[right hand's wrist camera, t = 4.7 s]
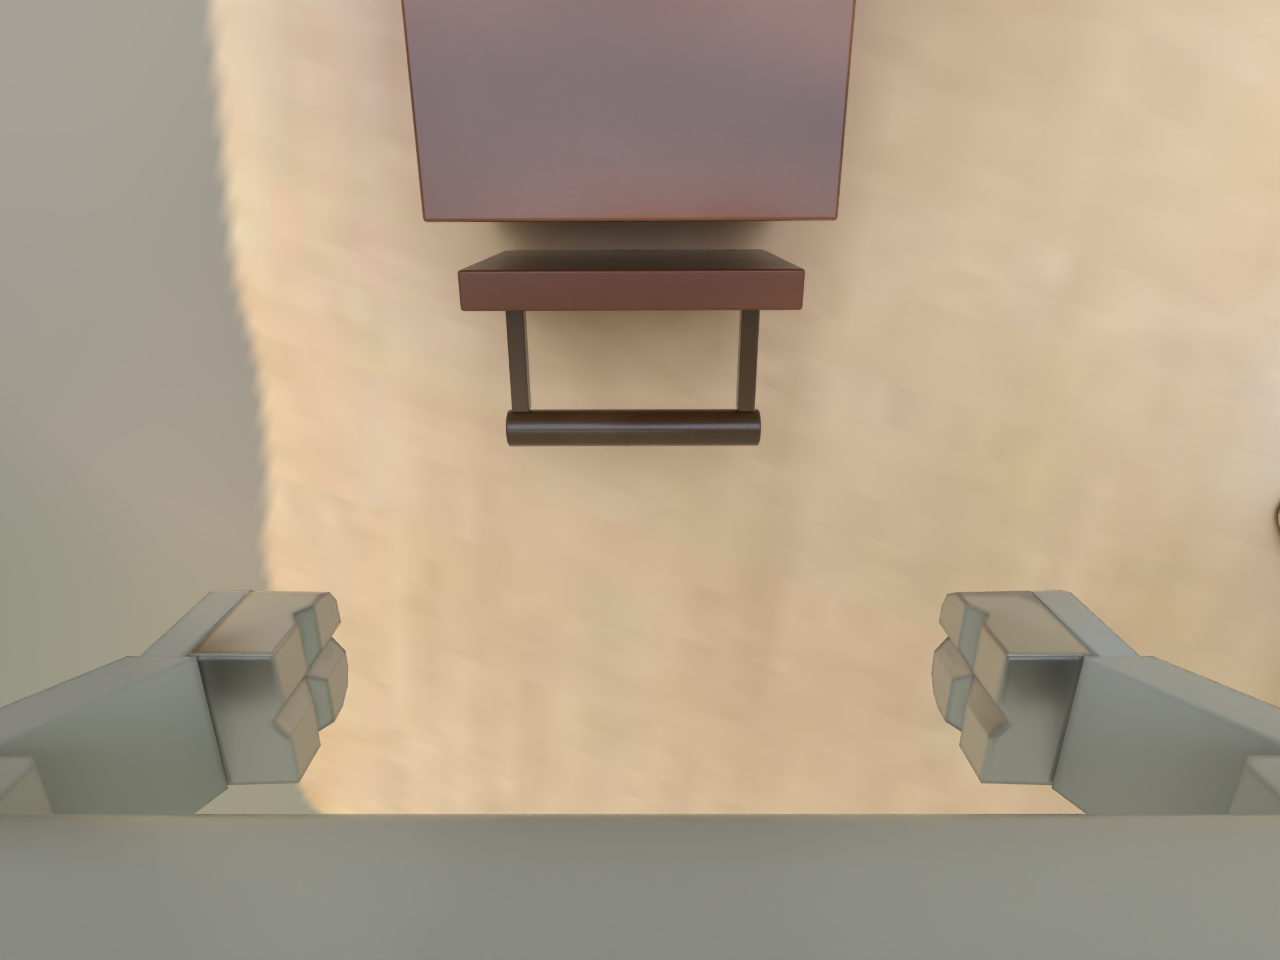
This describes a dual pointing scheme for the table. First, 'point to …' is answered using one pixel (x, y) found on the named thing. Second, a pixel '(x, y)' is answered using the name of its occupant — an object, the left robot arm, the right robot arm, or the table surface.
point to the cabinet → (629, 108)
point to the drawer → (632, 286)
